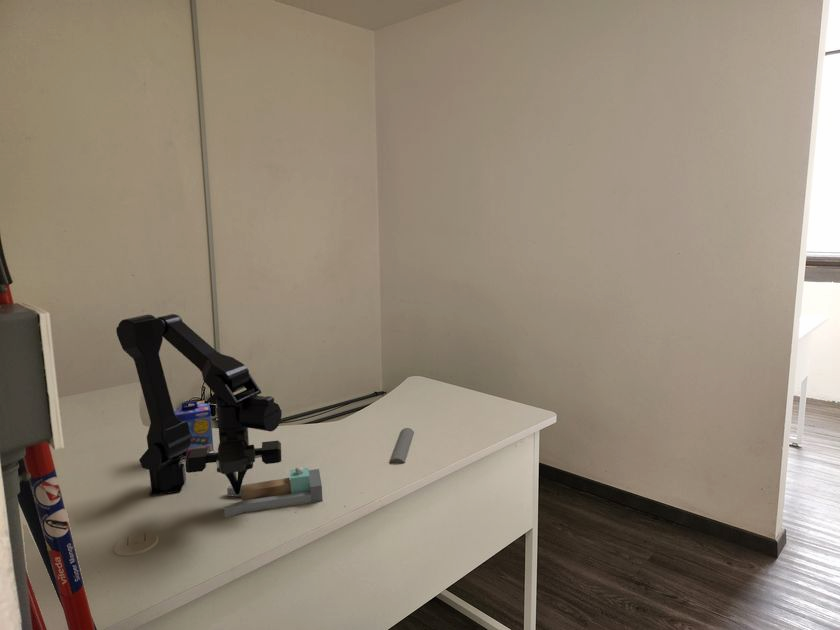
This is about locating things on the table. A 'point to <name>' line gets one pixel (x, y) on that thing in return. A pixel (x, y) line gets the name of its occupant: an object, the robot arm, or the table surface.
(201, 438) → the ink cartridge box
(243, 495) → the batten
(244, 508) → the guide
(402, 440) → the gray half cylinder
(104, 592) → the table surface
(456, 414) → the table surface
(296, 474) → the block
